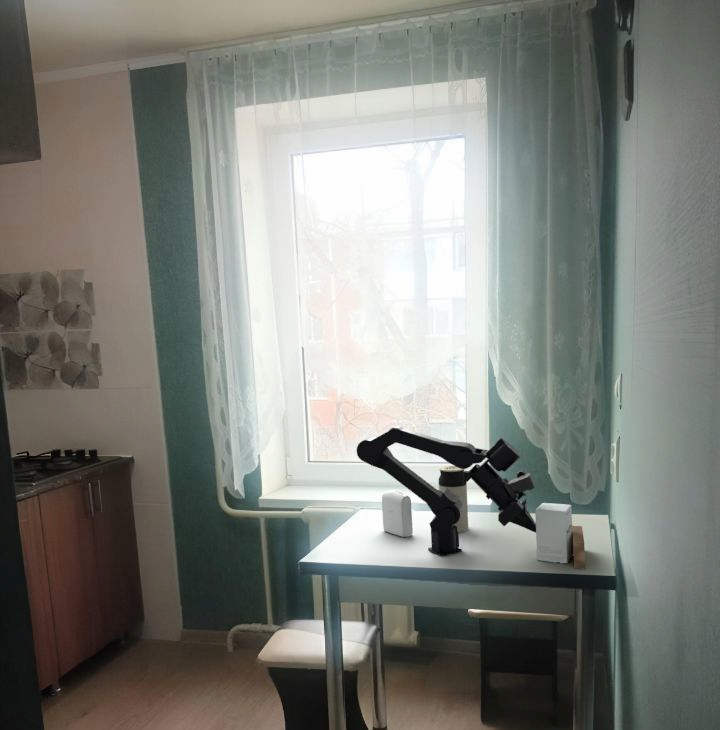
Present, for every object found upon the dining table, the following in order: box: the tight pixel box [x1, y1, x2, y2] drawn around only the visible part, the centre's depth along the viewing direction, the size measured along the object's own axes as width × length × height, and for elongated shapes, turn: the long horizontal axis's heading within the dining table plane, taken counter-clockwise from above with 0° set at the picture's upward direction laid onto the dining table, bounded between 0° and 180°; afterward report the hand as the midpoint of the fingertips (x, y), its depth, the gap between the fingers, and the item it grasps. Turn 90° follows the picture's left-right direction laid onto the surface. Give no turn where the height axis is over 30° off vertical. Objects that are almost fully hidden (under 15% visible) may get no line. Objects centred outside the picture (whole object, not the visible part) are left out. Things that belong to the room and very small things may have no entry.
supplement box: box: [534, 502, 573, 564], centre depth 152 cm, size 7×7×13 cm
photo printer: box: [381, 489, 414, 538], centre depth 178 cm, size 10×4×12 cm, turn 35°
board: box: [572, 525, 586, 569], centre depth 150 cm, size 2×14×6 cm, turn 163°
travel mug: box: [438, 464, 469, 533], centre depth 179 cm, size 8×8×18 cm
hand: (537, 531), depth 153 cm, fingers closed, pressing on supplement box
